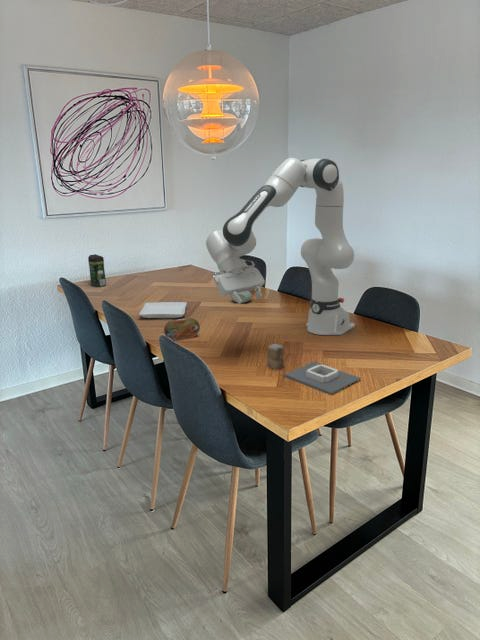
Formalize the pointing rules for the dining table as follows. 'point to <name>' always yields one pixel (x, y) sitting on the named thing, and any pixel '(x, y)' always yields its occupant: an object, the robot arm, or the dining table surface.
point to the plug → (275, 356)
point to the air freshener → (244, 296)
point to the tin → (181, 329)
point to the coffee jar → (97, 270)
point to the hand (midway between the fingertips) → (250, 300)
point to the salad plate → (163, 310)
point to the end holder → (322, 377)
